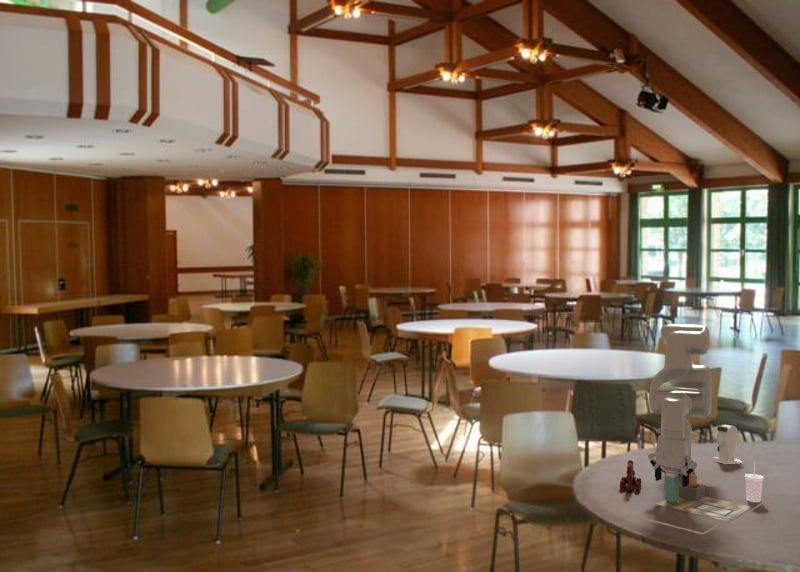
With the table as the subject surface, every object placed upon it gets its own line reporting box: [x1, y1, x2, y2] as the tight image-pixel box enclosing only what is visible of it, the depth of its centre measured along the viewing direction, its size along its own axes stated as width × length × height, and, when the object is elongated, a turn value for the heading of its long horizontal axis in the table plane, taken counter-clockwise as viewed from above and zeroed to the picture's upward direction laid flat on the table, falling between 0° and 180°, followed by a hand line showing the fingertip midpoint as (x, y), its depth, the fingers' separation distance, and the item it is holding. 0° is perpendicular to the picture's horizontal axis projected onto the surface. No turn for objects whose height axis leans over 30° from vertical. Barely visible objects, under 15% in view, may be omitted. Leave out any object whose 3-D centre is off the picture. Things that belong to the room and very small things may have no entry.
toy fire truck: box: [619, 460, 642, 494], centre depth 296 cm, size 7×12×10 cm, turn 160°
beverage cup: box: [744, 461, 765, 503], centre depth 283 cm, size 6×6×14 cm
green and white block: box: [664, 471, 680, 504], centre depth 279 cm, size 3×3×11 cm
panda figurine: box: [713, 422, 743, 465], centre depth 335 cm, size 12×11×15 cm
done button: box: [686, 473, 698, 488], centre depth 286 cm, size 4×4×5 cm
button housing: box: [679, 483, 706, 501], centre depth 286 cm, size 7×7×4 cm
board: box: [654, 495, 752, 524], centre depth 277 cm, size 25×20×1 cm
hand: (671, 483), depth 280 cm, fingers open, 9 cm apart
